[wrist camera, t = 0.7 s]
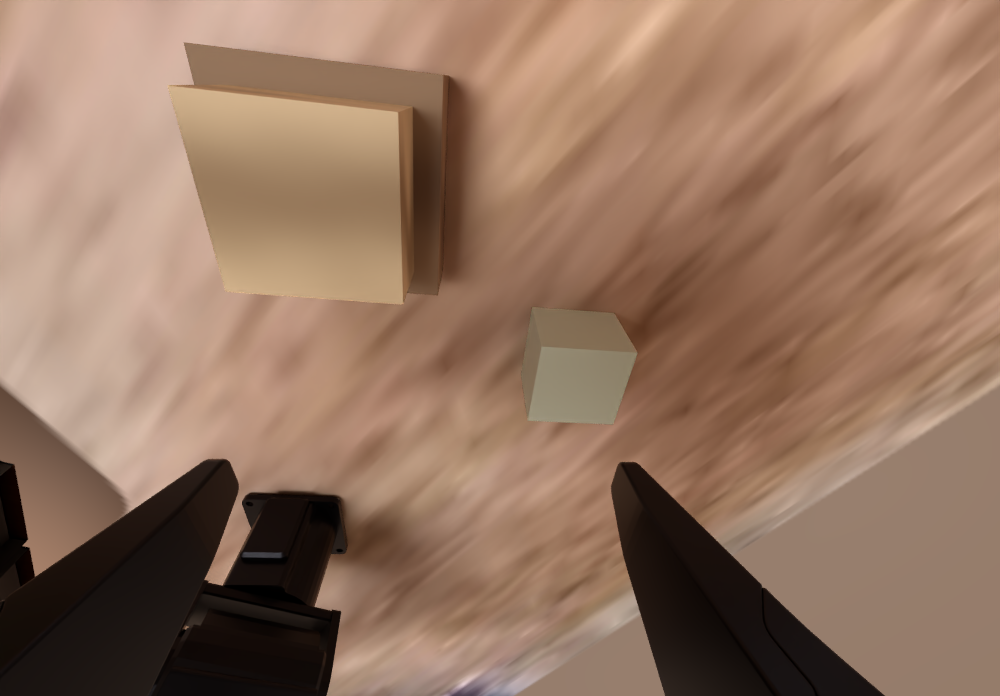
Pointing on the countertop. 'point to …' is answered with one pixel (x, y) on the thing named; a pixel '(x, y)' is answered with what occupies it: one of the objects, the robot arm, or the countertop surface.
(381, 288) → the oak middle block
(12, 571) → the treasure chest
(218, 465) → the robot arm
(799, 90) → the countertop surface
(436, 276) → the walnut base
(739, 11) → the countertop surface
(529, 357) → the cap block
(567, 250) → the countertop surface
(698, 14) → the countertop surface
